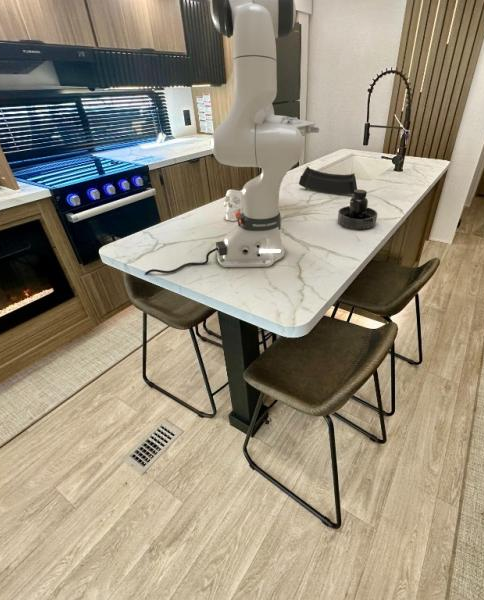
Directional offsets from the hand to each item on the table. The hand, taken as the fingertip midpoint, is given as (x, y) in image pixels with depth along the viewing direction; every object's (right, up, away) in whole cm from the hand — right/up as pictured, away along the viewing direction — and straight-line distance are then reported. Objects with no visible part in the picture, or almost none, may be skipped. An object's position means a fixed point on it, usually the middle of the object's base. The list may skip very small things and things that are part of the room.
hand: (311, 131), depth 120 cm
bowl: (+19, -31, +11) cm, 38 cm away
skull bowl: (-30, -26, +19) cm, 44 cm away
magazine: (+11, -8, +44) cm, 46 cm away
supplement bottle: (+19, -31, +11) cm, 38 cm away
